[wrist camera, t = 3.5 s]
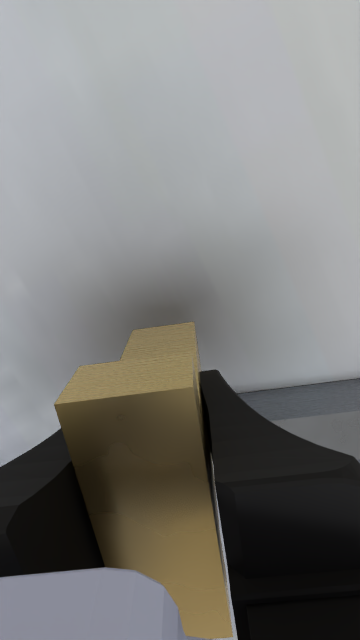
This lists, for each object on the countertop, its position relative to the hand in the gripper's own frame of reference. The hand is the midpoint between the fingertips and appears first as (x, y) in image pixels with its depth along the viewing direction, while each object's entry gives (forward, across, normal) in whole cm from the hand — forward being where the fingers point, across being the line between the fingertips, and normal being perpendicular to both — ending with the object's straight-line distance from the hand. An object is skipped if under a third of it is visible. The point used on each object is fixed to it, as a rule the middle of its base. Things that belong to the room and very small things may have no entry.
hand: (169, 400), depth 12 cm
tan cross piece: (+2, 0, 0) cm, 2 cm away
